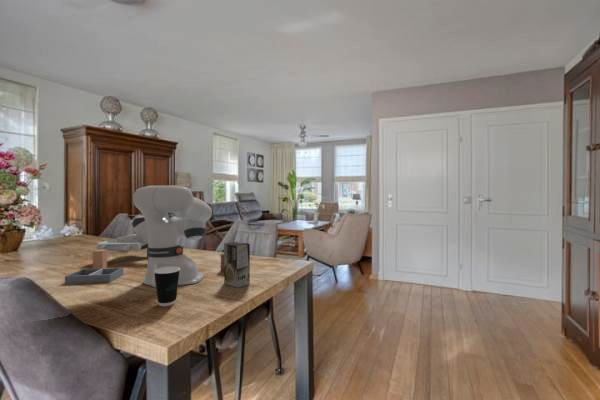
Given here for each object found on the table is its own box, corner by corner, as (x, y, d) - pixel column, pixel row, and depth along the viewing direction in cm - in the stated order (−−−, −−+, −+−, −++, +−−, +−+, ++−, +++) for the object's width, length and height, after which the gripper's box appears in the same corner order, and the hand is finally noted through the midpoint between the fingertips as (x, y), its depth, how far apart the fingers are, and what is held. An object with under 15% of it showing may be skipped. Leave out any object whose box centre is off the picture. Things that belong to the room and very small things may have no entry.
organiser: (123, 274, 127) (123, 267, 127) (110, 282, 116) (110, 274, 116) (82, 276, 125) (82, 269, 125) (64, 284, 113) (64, 276, 113)
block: (107, 271, 133) (106, 249, 133) (102, 273, 129) (102, 251, 129) (97, 271, 133) (97, 249, 133) (92, 273, 129) (92, 251, 129)
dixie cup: (161, 298, 97) (161, 266, 97) (184, 299, 97) (184, 266, 97) (148, 307, 89) (148, 272, 89) (173, 308, 89) (173, 272, 89)
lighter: (238, 270, 134) (238, 249, 134) (234, 272, 131) (234, 250, 131) (223, 269, 137) (223, 248, 137) (219, 271, 134) (219, 249, 134)
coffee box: (250, 284, 113) (250, 243, 113) (236, 288, 109) (236, 245, 108) (237, 279, 120) (237, 241, 119) (223, 283, 115) (223, 242, 115)
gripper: (145, 249, 158) (135, 254, 145) (104, 250, 155) (90, 255, 142) (145, 238, 158) (135, 242, 145) (105, 238, 155) (90, 242, 142)
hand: (112, 248), depth 143 cm, fingers open, 8 cm apart
